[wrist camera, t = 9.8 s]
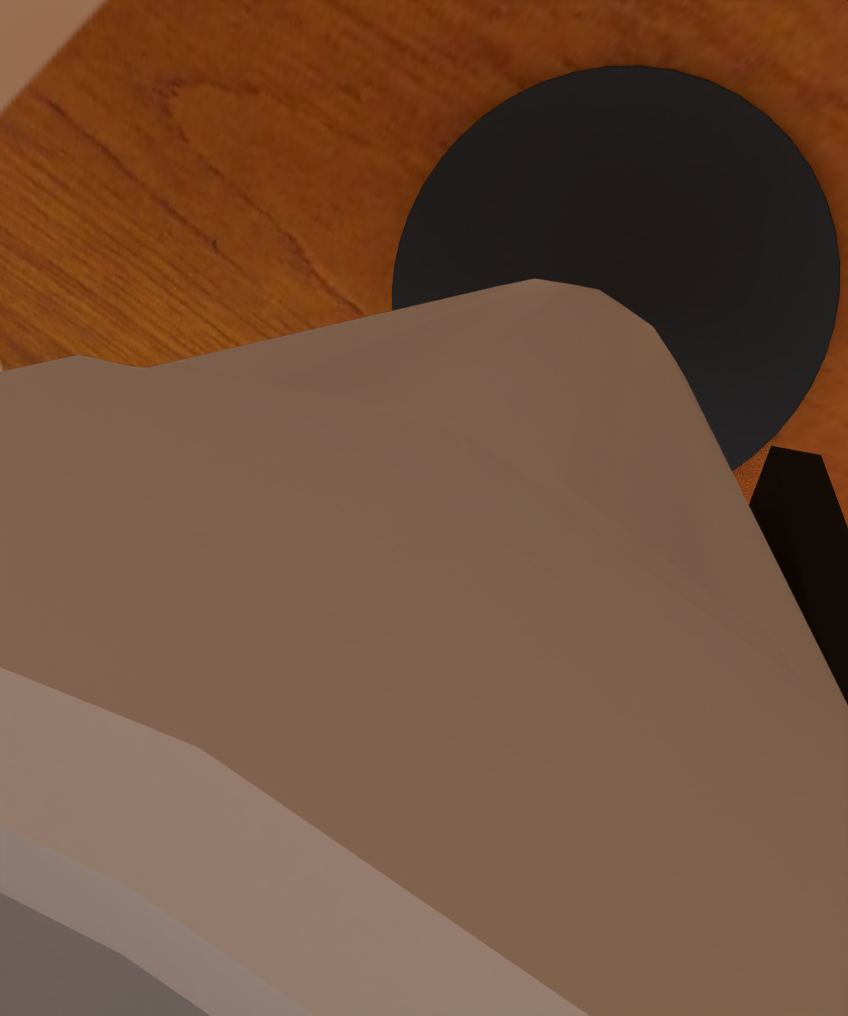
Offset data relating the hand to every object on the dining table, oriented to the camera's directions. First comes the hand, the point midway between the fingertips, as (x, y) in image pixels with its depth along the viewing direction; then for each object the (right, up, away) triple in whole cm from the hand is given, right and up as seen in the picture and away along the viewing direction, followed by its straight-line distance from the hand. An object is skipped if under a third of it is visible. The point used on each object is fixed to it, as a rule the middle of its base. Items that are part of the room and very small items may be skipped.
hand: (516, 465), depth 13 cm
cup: (+1, +1, +2) cm, 3 cm away
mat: (+4, +5, +9) cm, 11 cm away
